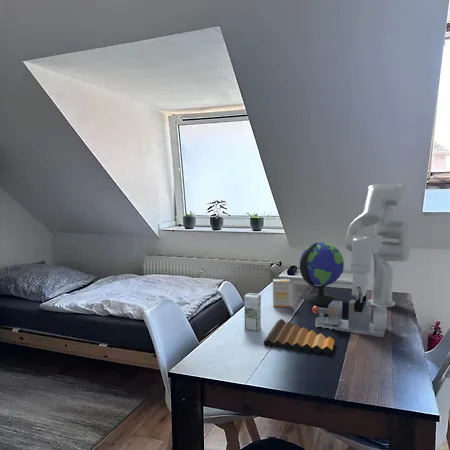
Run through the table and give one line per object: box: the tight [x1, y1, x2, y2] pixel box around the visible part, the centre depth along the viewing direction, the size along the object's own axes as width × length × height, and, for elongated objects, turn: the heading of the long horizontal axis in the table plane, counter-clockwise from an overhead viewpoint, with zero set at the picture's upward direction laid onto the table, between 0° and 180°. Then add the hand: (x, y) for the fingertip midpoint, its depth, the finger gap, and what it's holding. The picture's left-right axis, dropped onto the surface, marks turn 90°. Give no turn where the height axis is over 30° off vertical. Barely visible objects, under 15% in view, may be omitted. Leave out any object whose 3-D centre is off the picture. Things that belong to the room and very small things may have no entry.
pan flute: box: [263, 318, 335, 355], centre depth 165 cm, size 25×3×25 cm
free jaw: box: [311, 300, 343, 325], centre depth 181 cm, size 9×12×8 cm
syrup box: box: [243, 292, 262, 332], centre depth 176 cm, size 6×6×14 cm
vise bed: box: [314, 306, 388, 338], centre depth 176 cm, size 11×27×9 cm, turn 63°
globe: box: [299, 242, 345, 306], centre depth 217 cm, size 22×22×30 cm
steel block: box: [348, 299, 372, 329], centre depth 175 cm, size 5×8×10 cm, turn 63°
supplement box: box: [272, 278, 291, 308], centre depth 208 cm, size 8×5×13 cm, turn 84°
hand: (360, 308), depth 175 cm, fingers open, 9 cm apart
